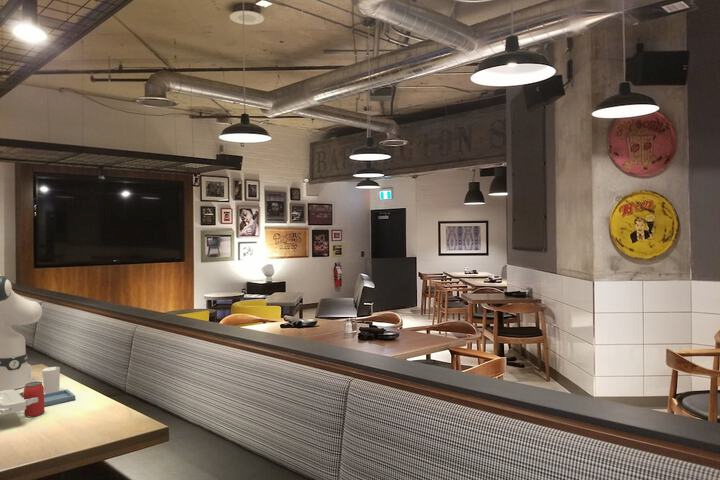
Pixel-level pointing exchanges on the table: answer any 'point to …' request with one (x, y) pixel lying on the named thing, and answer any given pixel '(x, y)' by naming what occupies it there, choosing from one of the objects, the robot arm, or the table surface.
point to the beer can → (34, 391)
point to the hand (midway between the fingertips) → (35, 396)
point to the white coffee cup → (51, 379)
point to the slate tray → (58, 397)
